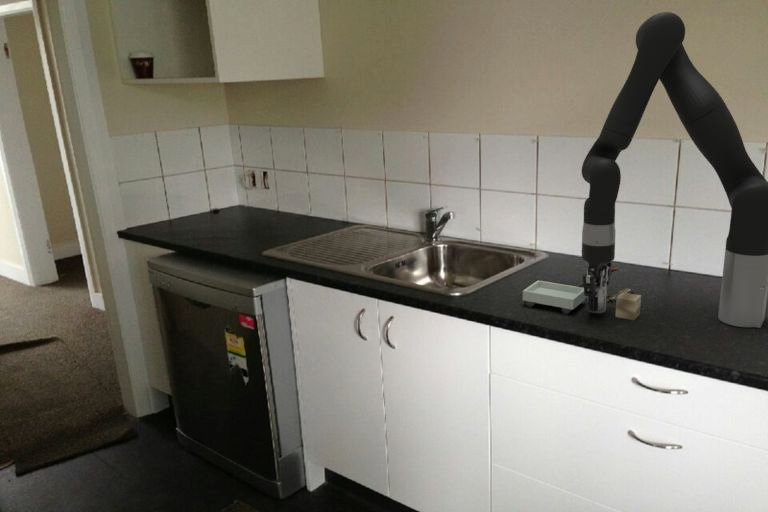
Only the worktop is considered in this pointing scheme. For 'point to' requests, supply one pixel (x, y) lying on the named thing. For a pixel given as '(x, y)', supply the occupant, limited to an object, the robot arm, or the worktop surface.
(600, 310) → the steel cylinder
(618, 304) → the brass block
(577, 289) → the footed soap dish
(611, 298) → the fantasy weapon
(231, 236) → the worktop surface
